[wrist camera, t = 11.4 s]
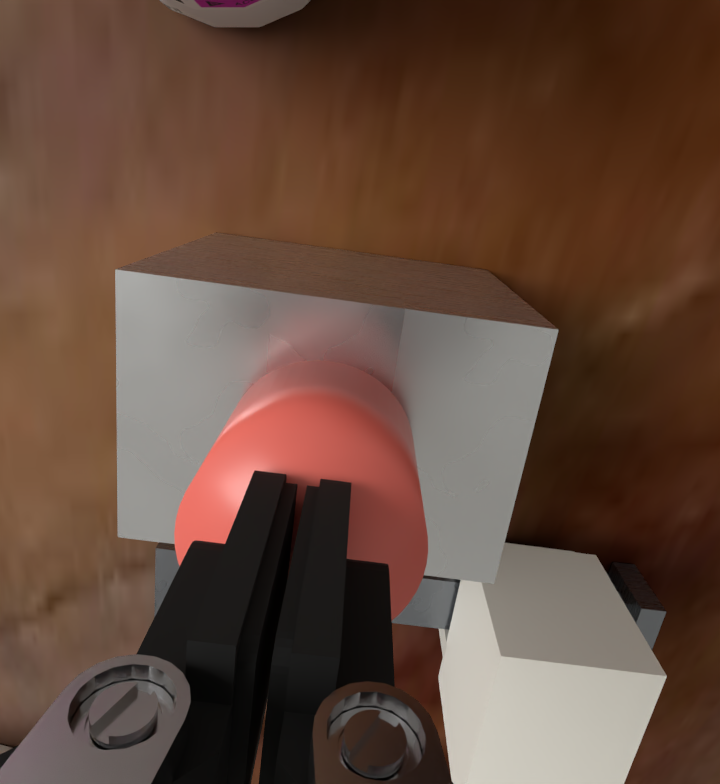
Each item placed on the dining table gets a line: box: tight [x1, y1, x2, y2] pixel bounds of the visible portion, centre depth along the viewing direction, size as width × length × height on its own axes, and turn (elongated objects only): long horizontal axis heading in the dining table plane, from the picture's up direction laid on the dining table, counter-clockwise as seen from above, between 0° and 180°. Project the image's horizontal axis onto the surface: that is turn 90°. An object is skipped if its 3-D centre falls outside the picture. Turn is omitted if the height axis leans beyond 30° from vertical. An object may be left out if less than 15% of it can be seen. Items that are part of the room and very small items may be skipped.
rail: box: [155, 542, 666, 650], centre depth 25 cm, size 20×4×3 cm, turn 82°
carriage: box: [438, 543, 667, 784], centre depth 22 cm, size 5×7×8 cm
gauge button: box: [174, 360, 428, 620], centre depth 14 cm, size 4×4×8 cm
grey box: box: [115, 233, 559, 584], centre depth 19 cm, size 10×7×9 cm
